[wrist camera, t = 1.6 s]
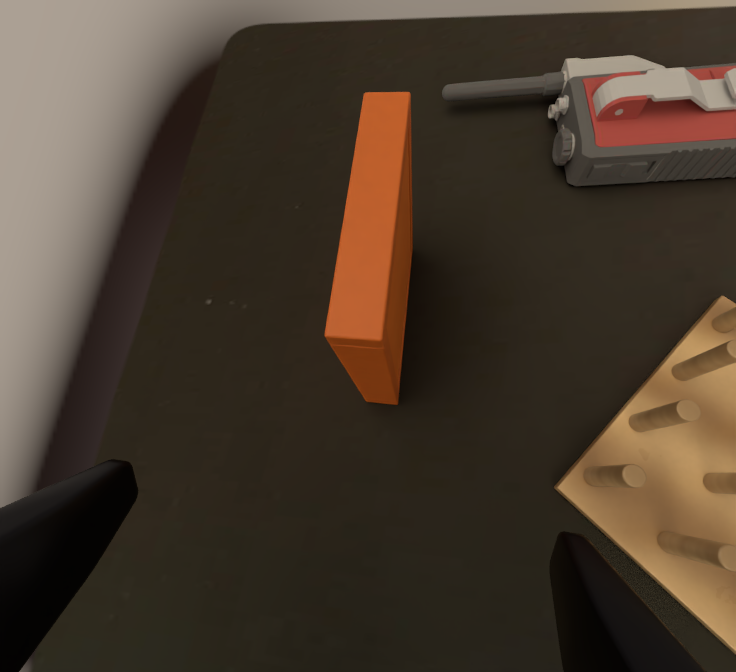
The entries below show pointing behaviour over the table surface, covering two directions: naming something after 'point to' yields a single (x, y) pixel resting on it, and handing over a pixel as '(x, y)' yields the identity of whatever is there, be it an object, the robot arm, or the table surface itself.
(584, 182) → the walkie-talkie
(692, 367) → the rack
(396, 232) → the lid
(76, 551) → the robot arm
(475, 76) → the table surface
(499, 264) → the table surface
